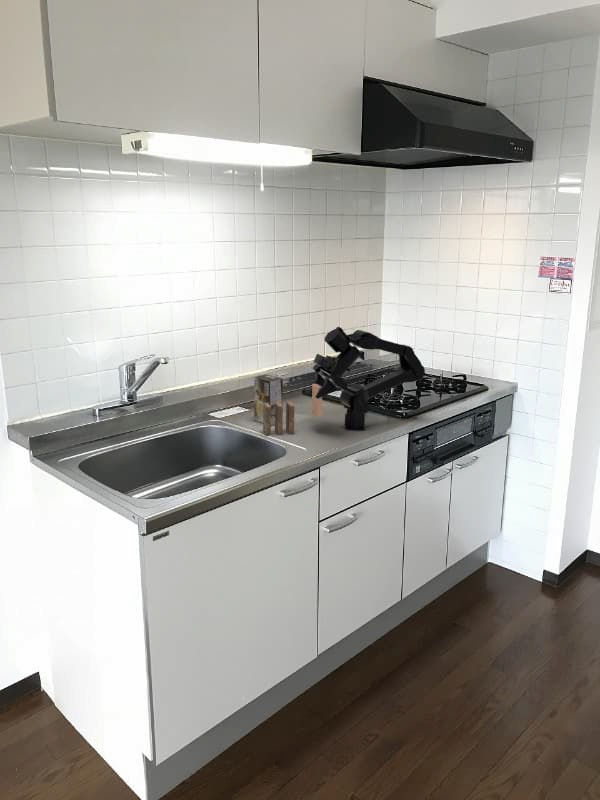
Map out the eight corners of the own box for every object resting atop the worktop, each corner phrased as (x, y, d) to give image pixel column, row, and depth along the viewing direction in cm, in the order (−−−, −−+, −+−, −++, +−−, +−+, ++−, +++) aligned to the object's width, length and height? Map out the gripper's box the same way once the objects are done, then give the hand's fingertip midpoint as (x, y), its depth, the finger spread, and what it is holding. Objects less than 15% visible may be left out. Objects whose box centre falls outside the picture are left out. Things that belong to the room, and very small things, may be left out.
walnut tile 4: (267, 431, 224) (267, 402, 222) (270, 435, 220) (270, 406, 217) (263, 431, 224) (263, 403, 221) (266, 435, 219) (266, 406, 217)
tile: (316, 412, 225) (316, 383, 222) (321, 416, 221) (322, 387, 218) (312, 412, 225) (312, 384, 222) (317, 416, 220) (317, 387, 217)
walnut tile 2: (290, 429, 226) (290, 401, 224) (294, 434, 222) (294, 405, 219) (285, 429, 226) (286, 401, 223) (289, 434, 221) (289, 405, 219)
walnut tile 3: (279, 430, 225) (279, 402, 223) (282, 434, 221) (282, 406, 218) (274, 430, 225) (274, 402, 222) (277, 435, 220) (278, 406, 218)
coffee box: (283, 422, 234) (284, 378, 230) (270, 426, 230) (270, 381, 226) (266, 416, 241) (266, 373, 236) (253, 420, 236) (252, 376, 232)
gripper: (318, 340, 226) (287, 374, 225) (340, 350, 209) (307, 387, 209) (338, 361, 231) (309, 394, 230) (361, 372, 214) (330, 408, 213)
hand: (313, 395), depth 220 cm, fingers closed on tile, 5 cm apart
